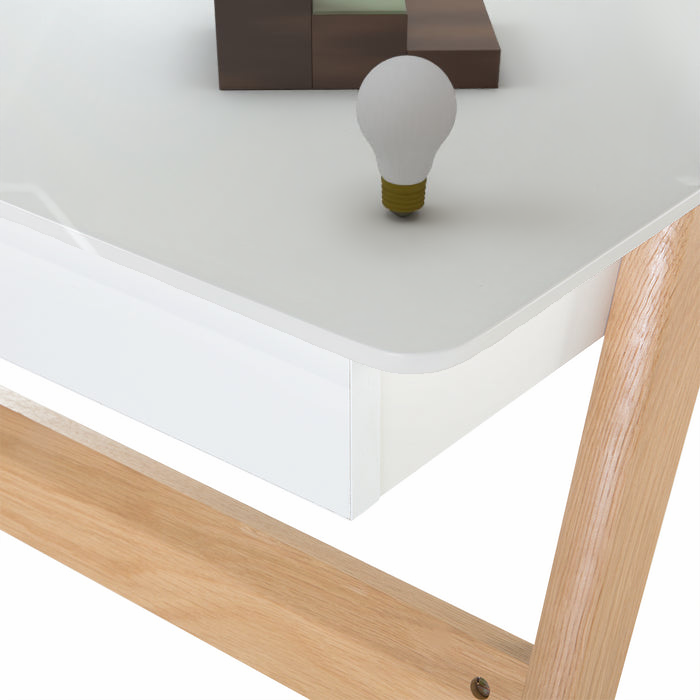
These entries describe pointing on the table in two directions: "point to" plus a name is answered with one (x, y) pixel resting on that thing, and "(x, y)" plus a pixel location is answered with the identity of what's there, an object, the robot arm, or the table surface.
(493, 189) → the table surface
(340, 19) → the stepped wooden block
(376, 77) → the light bulb
